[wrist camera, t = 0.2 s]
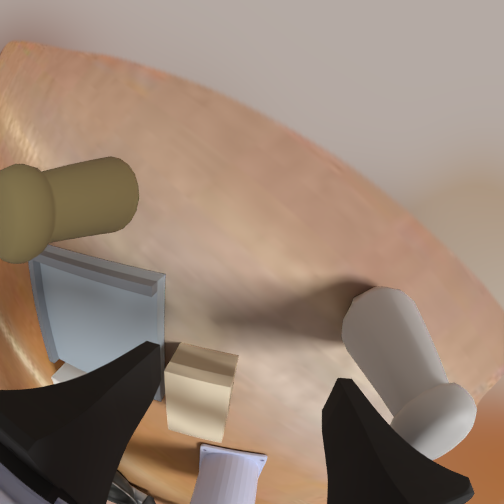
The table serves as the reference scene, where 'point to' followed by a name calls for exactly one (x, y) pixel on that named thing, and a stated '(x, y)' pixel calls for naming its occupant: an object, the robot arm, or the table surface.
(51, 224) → the pepper shaker
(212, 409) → the block
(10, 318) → the table surface
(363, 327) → the salt shaker
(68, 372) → the white cube
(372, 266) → the table surface
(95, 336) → the dock
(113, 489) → the frying pan
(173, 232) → the table surface
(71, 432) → the robot arm
